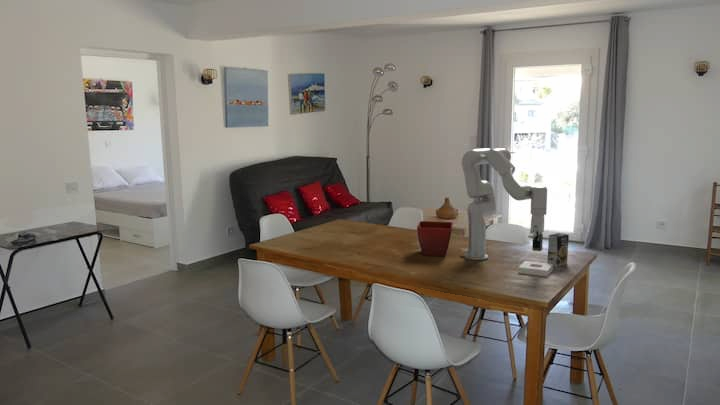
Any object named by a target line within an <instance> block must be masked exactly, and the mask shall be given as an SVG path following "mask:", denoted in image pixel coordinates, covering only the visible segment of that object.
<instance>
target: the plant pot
mask: <svg viewBox="0 0 720 405" xmlns="http://www.w3.org/2000/svg"><path fill="white" fill-rule="evenodd" d="M453 223H454V222H451V221H431V220H430V221H429V220H421V221H420V220H419V223H418V224H417V226H416V232H417V238H418V242H419V243H418V244H419V247H420V251H421V253H422V256H432V257H433V256H434V257H435V256H436V257H445V256H446V255H447V251H448V248H449V246H450V241H451V236H452V229H453Z"/></svg>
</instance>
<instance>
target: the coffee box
mask: <svg viewBox="0 0 720 405" xmlns="http://www.w3.org/2000/svg"><path fill="white" fill-rule="evenodd" d="M569 237H570V234H565V233H557V232H556V233H553V234H549V235H548V245H547V262H546V263H547V264H553V267H556V268H559V267H562V266H566V265H568V256H569V254H568V253H569V239H570V238H569Z"/></svg>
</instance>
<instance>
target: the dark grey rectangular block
mask: <svg viewBox="0 0 720 405" xmlns="http://www.w3.org/2000/svg"><path fill="white" fill-rule="evenodd" d="M533 235H534V233H533V234H532V236H533ZM543 235H544V234H543V233H542V234H540V237H539V240H540V248H533V244H532V245H531V246H532V247H531V248H532V251H535V252H542V251H543V240H544V239H543V238H544V236H543ZM537 236H538V235H537Z"/></svg>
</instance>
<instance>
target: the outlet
mask: <svg viewBox="0 0 720 405" xmlns="http://www.w3.org/2000/svg"><path fill="white" fill-rule="evenodd" d="M517 267H518V270H517V271H518V274H523V275H530V276H531V275H532V276H539V277H548V276H549V275H550V274H551V273H552V272H553V270H554V266H553V264H547V262H537V261H530V260H525V261H523V262H522V263H521V264H520V265H519V266H517Z"/></svg>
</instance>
